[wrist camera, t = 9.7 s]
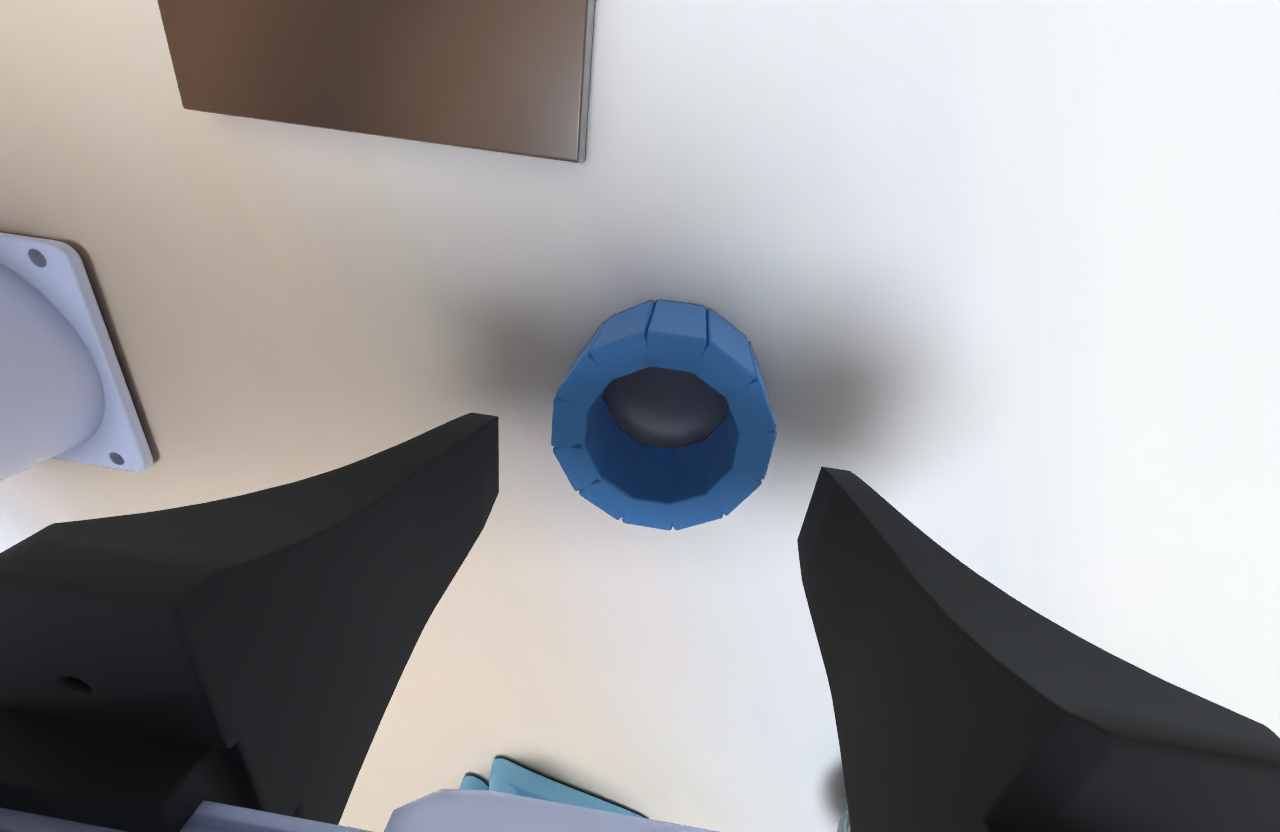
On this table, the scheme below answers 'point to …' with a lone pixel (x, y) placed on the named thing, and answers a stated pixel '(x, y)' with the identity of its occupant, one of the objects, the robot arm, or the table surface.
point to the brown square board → (394, 67)
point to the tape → (653, 476)
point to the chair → (536, 787)
